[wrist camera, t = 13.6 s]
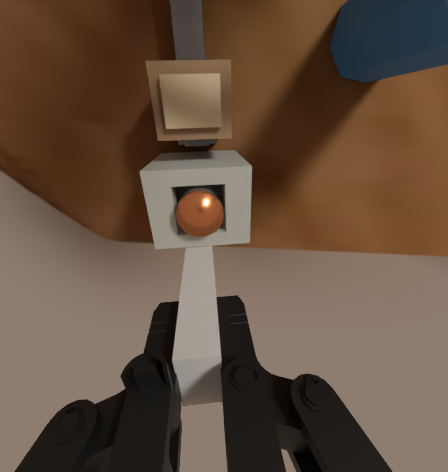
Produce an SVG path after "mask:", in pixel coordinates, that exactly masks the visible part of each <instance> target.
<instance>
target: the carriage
mask: <svg viewBox="0 0 448 472" xmlns="http://www.w3.org/2000/svg"><path fill="white" fill-rule="evenodd" d="M145 62H146V68H147V74H148V81H149V87H150V94H151V100H152V106H153V113H154V119H155V126H156V132H157V138H158V141H170V140H196V139H222V138H232V114H231V60H168V61H145Z"/></svg>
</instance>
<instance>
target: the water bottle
mask: <svg viewBox="0 0 448 472" xmlns="http://www.w3.org/2000/svg"><path fill="white" fill-rule="evenodd" d="M330 50H331V53H332V56H333V58H334V61H335V64H336V67H337V69H338V72H339V75H340V77H343V78H347V79H351V80H356V81H360V82H364V83H366V82H371V81H375V80H380V79H384V78H389V77H393V76H397V75H402V74H406V73H411V72H415V71H420V70H424V69H428V68H433V67H437V66H442V65H446V64H448V0H348V1H347V2H346V3H345V4H343V5H342V6H341V9H340V12H339V16H338V19H337V23H336V26H335V29H334V33H333V36H332V40H331V43H330Z"/></svg>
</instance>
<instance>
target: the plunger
mask: <svg viewBox="0 0 448 472" xmlns="http://www.w3.org/2000/svg"><path fill="white" fill-rule="evenodd" d="M176 218H177V222H178V224H179V226H180V227H181V228H182V229H183V230H184V231H185V232H186V233H188V234H190V235H192V236H197V237H204V236H208V235H211V234H213V233H214V232H216V231H217V230H218V229H219V228H220V226H221V225H222V222H223V219H224V211H223V207H222V204H221V202H220V200H219V198H218V194H217V190H216V188H215V186H214V185H198V186H185V188H184V191H183V195H182V199H181V200H180V202H179V204H178V206H177V211H176Z"/></svg>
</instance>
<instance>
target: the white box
mask: <svg viewBox="0 0 448 472" xmlns="http://www.w3.org/2000/svg"><path fill="white" fill-rule="evenodd" d="M139 172H140V177H141V182H142V187H143V191H144V196H145V201H146V206H147V211H148V216H149V221H150V226H151V230H152V235H153V240H154V245H155V249H169V248H184V247H198V246H212V245H226V244H240V243H250V220H251V187H252V166H251V165H250V164H249V163H248V162H247V161H246V160H245V159H244V158H243V157H241V156H240V155H239V154H238V153H237V152H236V151H235V150H224V151H200V152H176V153H161V154H160V155H158V156H157V157H156V158H155V159H154V160H152V161H151V162H150V163H149V164H148V165H147V166H145V167H144V168H143V169H142V170H141V171H139ZM198 185H214V186H215V188H216V190H217V194H218V198H219V200H220V202H221V204H222V207H223V211H224V219H223V222H222V225H221V226H220V228H219V229H218V230H217V231H216V232H214V233H213V234H211V235H208V236H204V237H197V236H192V235H190V234H188V233H186V232H185V231H184V230H183V229H182V228H181V227H180V226H179V224H178V222H177V218H176V211H177V206H178V204H179V202H180V200H181V199H182V195H183V191H184V188H185V186H198Z"/></svg>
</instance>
